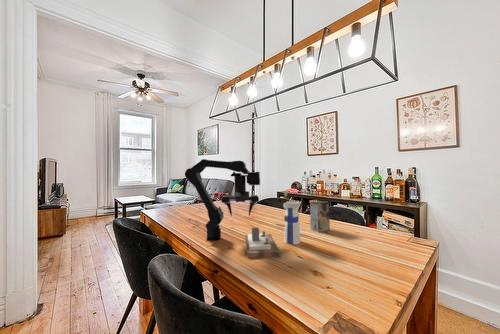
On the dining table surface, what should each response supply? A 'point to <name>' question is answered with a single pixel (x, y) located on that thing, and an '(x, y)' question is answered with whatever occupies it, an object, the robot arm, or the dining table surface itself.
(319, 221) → the coffee box
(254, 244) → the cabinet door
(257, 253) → the peg board
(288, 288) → the dining table surface
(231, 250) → the dining table surface
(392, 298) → the dining table surface
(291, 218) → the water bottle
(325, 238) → the dining table surface
